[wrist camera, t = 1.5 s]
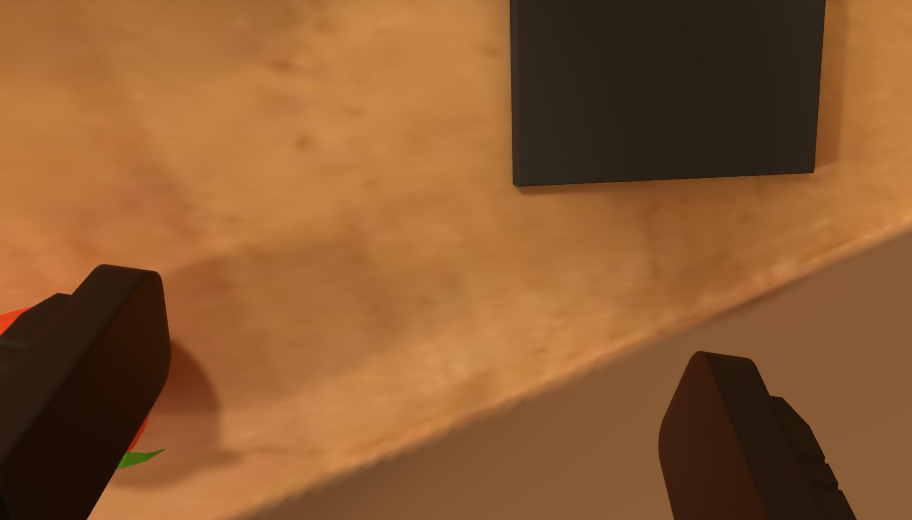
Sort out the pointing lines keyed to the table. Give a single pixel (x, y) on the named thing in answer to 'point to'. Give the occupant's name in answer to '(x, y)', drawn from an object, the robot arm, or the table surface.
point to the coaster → (663, 89)
